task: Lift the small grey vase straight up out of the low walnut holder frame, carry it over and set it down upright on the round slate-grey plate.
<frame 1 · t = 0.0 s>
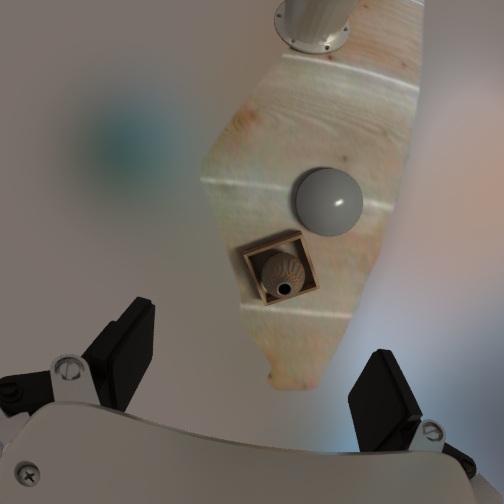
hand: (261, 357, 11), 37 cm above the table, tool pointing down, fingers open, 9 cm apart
vase: (282, 266, 50), resting in holder
plate: (329, 201, 46), on the table
holder: (282, 267, 50), on the table
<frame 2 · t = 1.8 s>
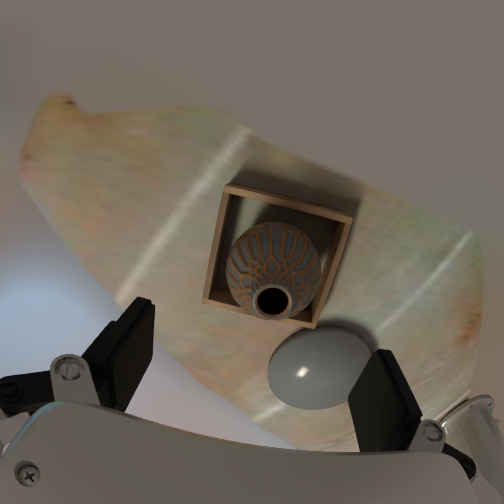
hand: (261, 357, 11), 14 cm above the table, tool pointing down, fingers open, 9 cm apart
vase: (274, 253, 25), resting in holder
plate: (320, 368, 28), on the table
holder: (274, 254, 25), on the table
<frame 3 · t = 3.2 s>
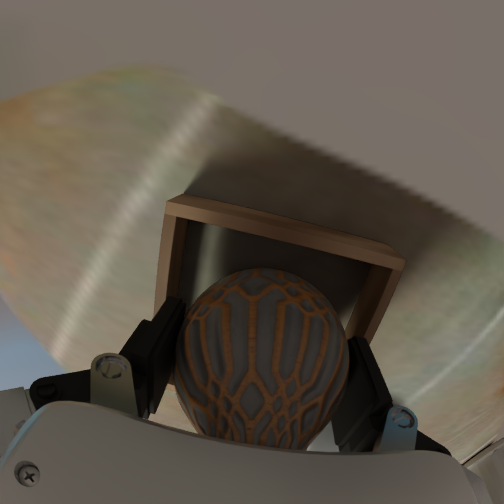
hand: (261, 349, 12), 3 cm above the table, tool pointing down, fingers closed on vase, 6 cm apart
vase: (263, 311, 15), resting in holder, touching gripper
plate: (328, 445, 18), on the table
holder: (263, 313, 14), on the table
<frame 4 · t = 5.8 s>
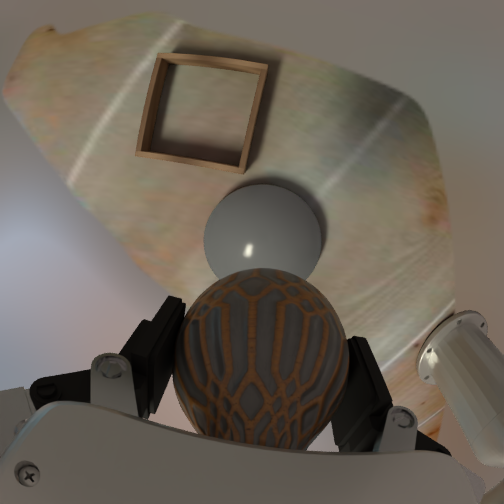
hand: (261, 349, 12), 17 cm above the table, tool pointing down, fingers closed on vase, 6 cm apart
vase: (263, 311, 15), point 14 cm above the table, touching gripper
plate: (262, 240, 28), on the table
holder: (203, 111, 24), on the table
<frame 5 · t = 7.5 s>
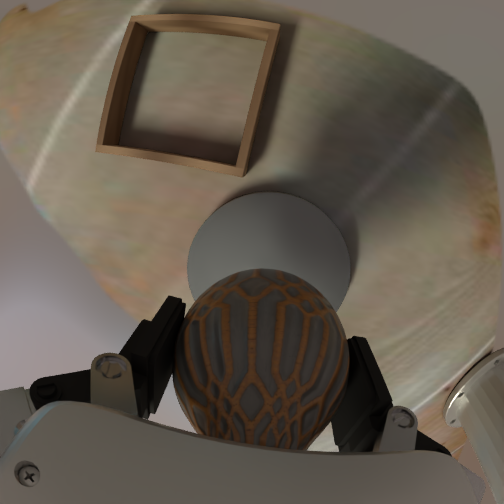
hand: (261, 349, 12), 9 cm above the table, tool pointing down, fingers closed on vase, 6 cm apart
vase: (263, 311, 15), point 6 cm above the table, touching gripper
plate: (268, 270, 20), on the table
holder: (189, 89, 17), on the table
when the fingers open (5 cm above the table, at t = 8.7 s): vase drops 1 cm, resting on plate.
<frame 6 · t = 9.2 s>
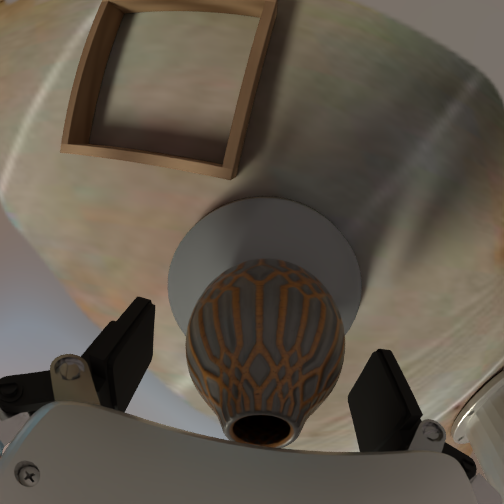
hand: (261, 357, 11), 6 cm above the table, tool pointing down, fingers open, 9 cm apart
vase: (267, 300, 16), point 1 cm above the table, touching plate
plate: (264, 290, 17), on the table
holder: (168, 75, 13), on the table
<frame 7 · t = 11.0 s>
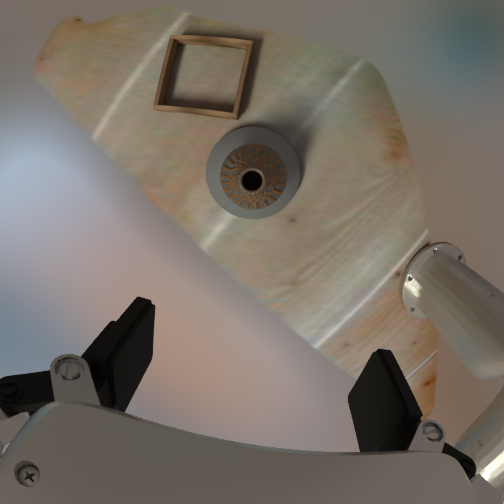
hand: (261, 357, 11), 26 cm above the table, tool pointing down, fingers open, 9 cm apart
vase: (254, 173, 33), point 1 cm above the table, touching plate
plate: (253, 172, 34), on the table
holder: (205, 77, 30), on the table
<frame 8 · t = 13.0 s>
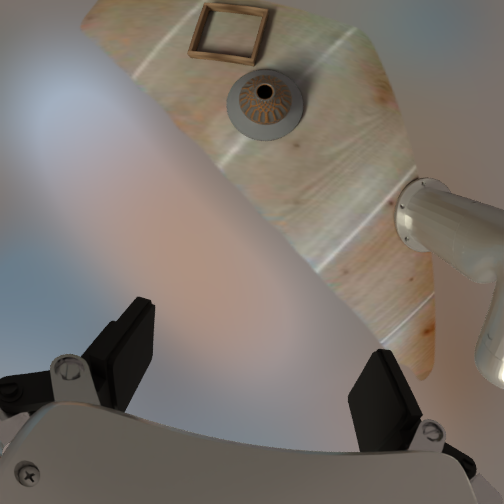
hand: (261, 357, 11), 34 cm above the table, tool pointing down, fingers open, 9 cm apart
vase: (265, 105, 38), point 1 cm above the table, touching plate
plate: (265, 105, 39), on the table
holder: (229, 34, 35), on the table
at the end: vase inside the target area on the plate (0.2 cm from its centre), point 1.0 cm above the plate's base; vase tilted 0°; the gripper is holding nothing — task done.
